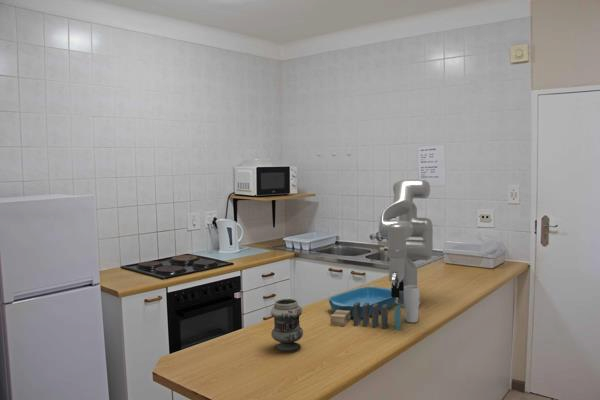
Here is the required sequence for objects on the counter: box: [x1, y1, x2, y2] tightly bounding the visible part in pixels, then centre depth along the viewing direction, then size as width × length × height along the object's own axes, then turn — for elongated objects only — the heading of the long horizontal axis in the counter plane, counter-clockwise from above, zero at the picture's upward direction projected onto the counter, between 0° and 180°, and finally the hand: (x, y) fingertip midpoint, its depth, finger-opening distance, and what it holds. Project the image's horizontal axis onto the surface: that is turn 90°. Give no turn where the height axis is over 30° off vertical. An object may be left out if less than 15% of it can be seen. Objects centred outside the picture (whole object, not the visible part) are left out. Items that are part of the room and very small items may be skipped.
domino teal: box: [394, 305, 402, 331], centre depth 205 cm, size 2×5×9 cm, turn 159°
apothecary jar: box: [270, 298, 304, 354], centre depth 185 cm, size 12×12×18 cm
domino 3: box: [371, 303, 379, 329], centre depth 209 cm, size 2×5×9 cm, turn 158°
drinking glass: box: [404, 285, 421, 323], centre depth 214 cm, size 7×7×15 cm
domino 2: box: [362, 303, 370, 328], centre depth 210 cm, size 2×5×9 cm, turn 158°
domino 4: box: [380, 304, 389, 330], centre depth 207 cm, size 2×5×9 cm, turn 158°
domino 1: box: [353, 302, 361, 327], centre depth 212 cm, size 2×5×9 cm, turn 158°
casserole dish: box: [327, 286, 397, 319], centre depth 233 cm, size 37×22×7 cm, turn 134°
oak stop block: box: [330, 310, 352, 327], centre depth 214 cm, size 10×6×4 cm, turn 158°
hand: (397, 293), depth 205 cm, fingers open, 9 cm apart
